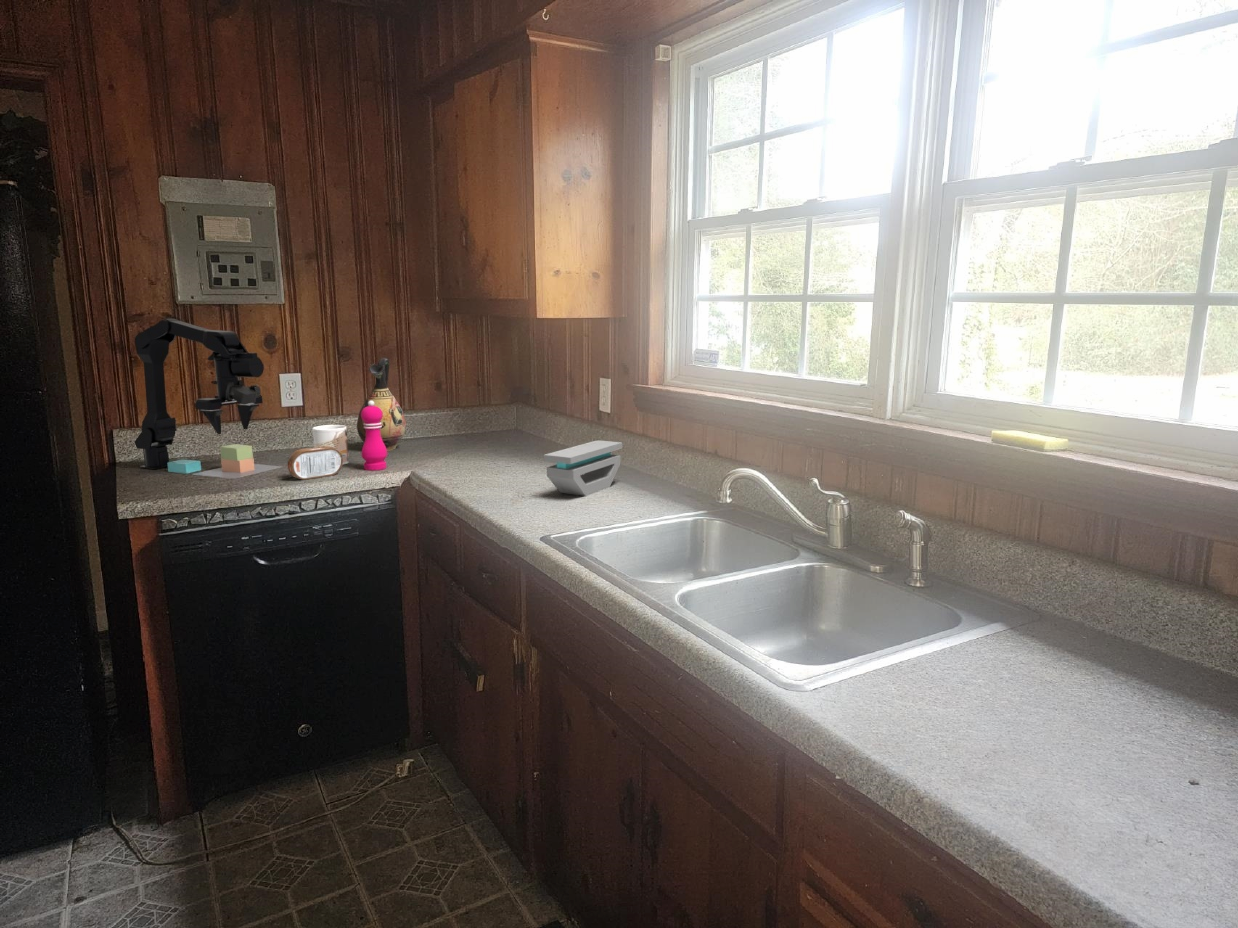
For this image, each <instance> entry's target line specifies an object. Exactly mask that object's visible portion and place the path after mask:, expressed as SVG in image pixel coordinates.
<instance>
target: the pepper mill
mask: <svg viewBox="0 0 1238 928" xmlns="http://www.w3.org/2000/svg"><path fill="white" fill-rule="evenodd" d="M368 405H369V406H367V407H365V408H364V409H363V410H362V412H361V418H362V419H363V420H364V422H365V423H364V428H365V430H366V438H365V442H363V445H362V449H361V457H362V459H363V460H364V461H365V462H364V463H363V469H364V470H365V471H381V470H385V469H387V462H386V461H385V459H386V458H387V456H388V451H387V449H386V447H385V445H384V443H383V441H382V438H381V434H380V428H381V427H382V426H381V422H380V421H381V419H382V417H383V413H382V410H381V409H380V408H379V407H377V406H374V401H369V402H368Z"/></svg>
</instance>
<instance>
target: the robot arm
mask: <svg viewBox="0 0 1238 928" xmlns="http://www.w3.org/2000/svg"><path fill="white" fill-rule="evenodd" d="M176 337H180V338H184V339H186V340H190V341H193V342H195V343H199V344H201V345H203V346H204V347H205V348H206V349H207V350H209V351H212V353H211V355H209V356H208V357H207V360H208V361H214V370H215V378H216V380H212V383H213V385H216V390H217V391H216V392H217V394H215V395H214V398H213V397H211V398H210V397H206V398H205V397H204V398H196V400H195V401H194V408H195V410H197V411H199V413H202V414H203V415H204V416H205V418H206V419H207V420H208V422H209V423H210V424H211V426H212V428H213V430H214V431H215V433H216V434H217V435H221V434H222V420H221V418H222V417H221V415H222V414H223V412H224V410H223V409H221V408H222V407H223V406H230V405H231V406H232V405H236V407H237V410H238V414H239V418H240V422H241V426H242V428H243V430H248V428H249V425H250V421H251V417H252V414H253V412H254V410H255V409H256V408H257V407H260V404H263V396H262V395H261V387H260V386H259V385H257V384H255V385H253V384H252V385H250V386H245V385H244V380H243V379H240V378H260V377H261V376H262V375H263V373H264V370H265V369H264V368H265V365H264V363H263V361H262V359H261V358H260V357H258V353H257V352H248V350H247V349H246V346H244V345H243V342H241V340H240V338H239V336H238V334H237V333H236V332H235V331H233V330H218V329H208V328H205V327H202V326H198V325H196V324H195V325H194V324H191V323H189V322H185V321H181V320H179V319H177V318H163V319H162V320H159V322H157V323H156V324H154V325H151V326H150V327H148V328H146V329H144V330H143V331H140V332H139V333H137V334H136V335H135V336H134V346H135V350H136V355H137V356H138V357H139V358H140V360H141V361H142V363H143V372H144V384H145V398H146V400H145V401H146V414H145V415H144V418H143V419H142V421H141V432H140V433H139V435H138V436H137V438H136V439H135V440H134V446H135V447H136V449H141V450H142V454H143V461H144V465H140V466H139V468H140V469H147V470H149V469H150V470H159V469H165V468H168V464H167V463H168V462H170V457H169V450H168V446H169V445H170V446H171V445H173V442H174V438H175V436H176V432H178V430H177V426H176V422H177V419H176V418H175V417H171V416H170V414H169V412H168V410H167V409H168V408H167V399H166V398H167V397H166V396H167V394H166V382H165V380H166V379H165V369H164V368H165V367H164V363H165V361H166V359H167V356H168V355H169V350H170V345H171V343H173V342H174V341H175V340H176Z"/></svg>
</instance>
